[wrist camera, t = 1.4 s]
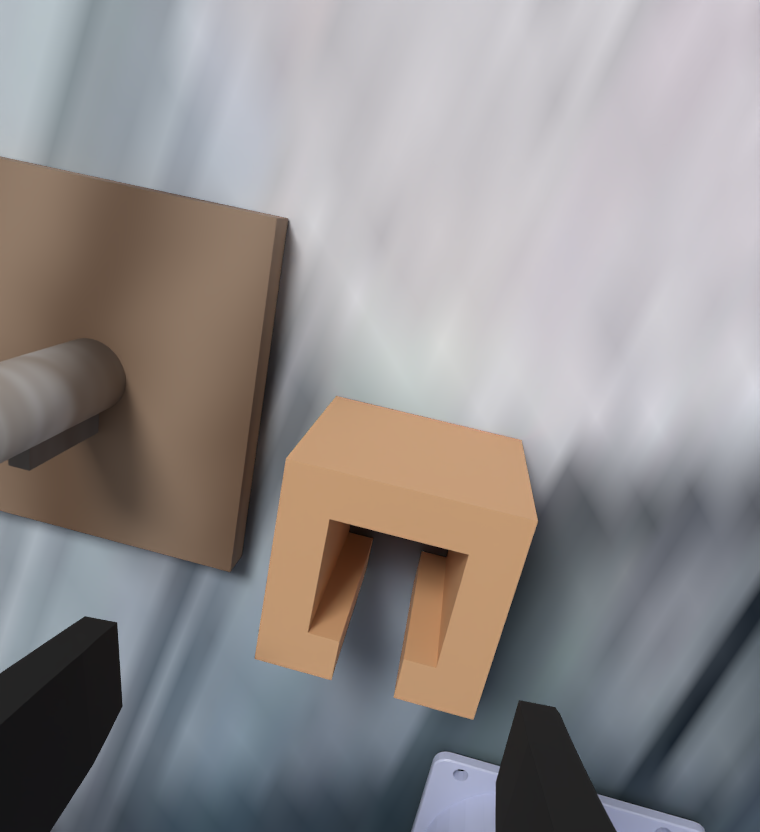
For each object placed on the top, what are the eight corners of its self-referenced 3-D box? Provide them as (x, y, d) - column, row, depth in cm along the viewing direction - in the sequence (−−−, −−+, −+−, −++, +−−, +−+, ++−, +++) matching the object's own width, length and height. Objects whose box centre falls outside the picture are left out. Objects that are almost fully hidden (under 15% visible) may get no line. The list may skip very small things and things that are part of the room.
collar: (521, 440, 17) (538, 521, 13) (474, 598, 19) (473, 719, 15) (336, 395, 18) (286, 458, 13) (307, 554, 20) (254, 658, 15)
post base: (288, 218, 16) (195, 217, 11) (241, 555, 20) (154, 679, 15) (-43, 147, 17) (-282, 113, 12) (-30, 483, 21) (-208, 576, 16)
